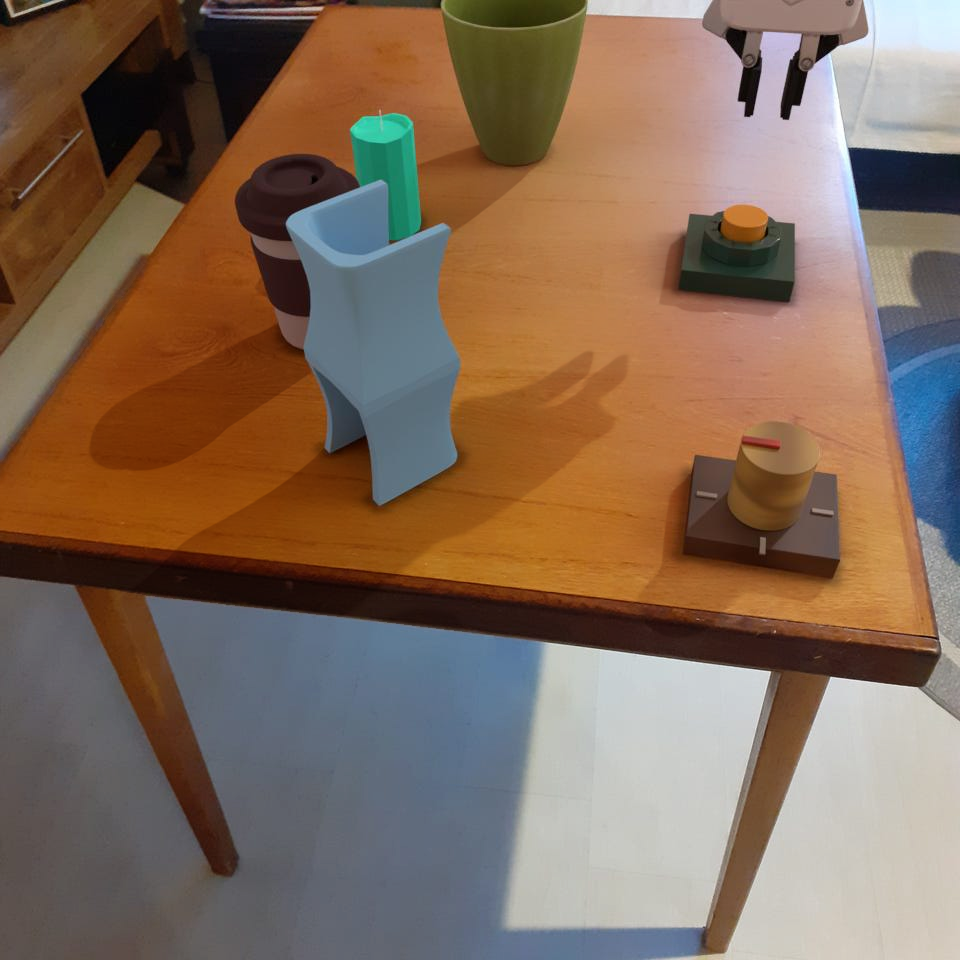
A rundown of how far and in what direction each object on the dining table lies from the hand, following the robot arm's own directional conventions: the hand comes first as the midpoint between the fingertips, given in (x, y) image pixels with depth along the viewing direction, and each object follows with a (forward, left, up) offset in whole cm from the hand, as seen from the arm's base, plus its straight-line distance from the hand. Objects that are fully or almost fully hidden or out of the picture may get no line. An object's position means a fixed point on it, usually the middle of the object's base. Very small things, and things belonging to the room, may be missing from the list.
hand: (766, 109), depth 77 cm
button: (0, 0, -12) cm, 12 cm away
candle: (+35, -1, -15) cm, 38 cm away
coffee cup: (+36, +17, -15) cm, 42 cm away
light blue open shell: (+25, +31, -15) cm, 42 cm away
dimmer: (-3, +32, -15) cm, 36 cm away
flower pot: (+26, -19, -15) cm, 35 cm away
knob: (-3, +32, -13) cm, 35 cm away
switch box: (0, 0, -15) cm, 15 cm away
